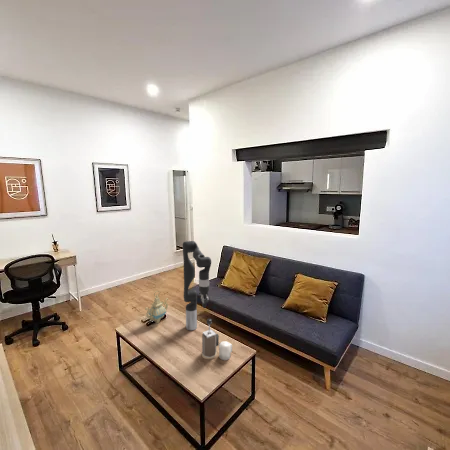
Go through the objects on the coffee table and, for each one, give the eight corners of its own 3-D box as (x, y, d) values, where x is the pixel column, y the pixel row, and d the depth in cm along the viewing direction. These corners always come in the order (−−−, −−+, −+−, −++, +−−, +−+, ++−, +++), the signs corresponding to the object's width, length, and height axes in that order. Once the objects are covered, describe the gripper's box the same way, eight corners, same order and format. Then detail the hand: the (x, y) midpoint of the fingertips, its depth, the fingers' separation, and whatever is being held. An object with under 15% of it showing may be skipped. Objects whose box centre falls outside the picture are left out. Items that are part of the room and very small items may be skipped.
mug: (216, 355, 179) (217, 343, 178) (228, 350, 184) (228, 339, 183) (223, 361, 172) (223, 349, 171) (234, 356, 178) (235, 344, 176)
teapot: (150, 331, 207) (149, 297, 203) (142, 327, 214) (140, 293, 209) (172, 319, 226) (171, 288, 222) (164, 315, 233) (163, 285, 228)
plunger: (205, 342, 179) (205, 319, 177) (210, 340, 181) (210, 318, 179) (208, 344, 176) (208, 321, 174) (212, 343, 178) (212, 320, 176)
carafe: (199, 352, 182) (198, 331, 179) (214, 346, 189) (214, 326, 186) (206, 361, 173) (206, 339, 170) (221, 354, 179) (222, 333, 177)
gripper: (195, 282, 182) (195, 305, 185) (203, 288, 171) (204, 312, 174) (204, 280, 186) (204, 302, 189) (213, 286, 175) (213, 309, 178)
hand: (204, 307), depth 181 cm, fingers closed
